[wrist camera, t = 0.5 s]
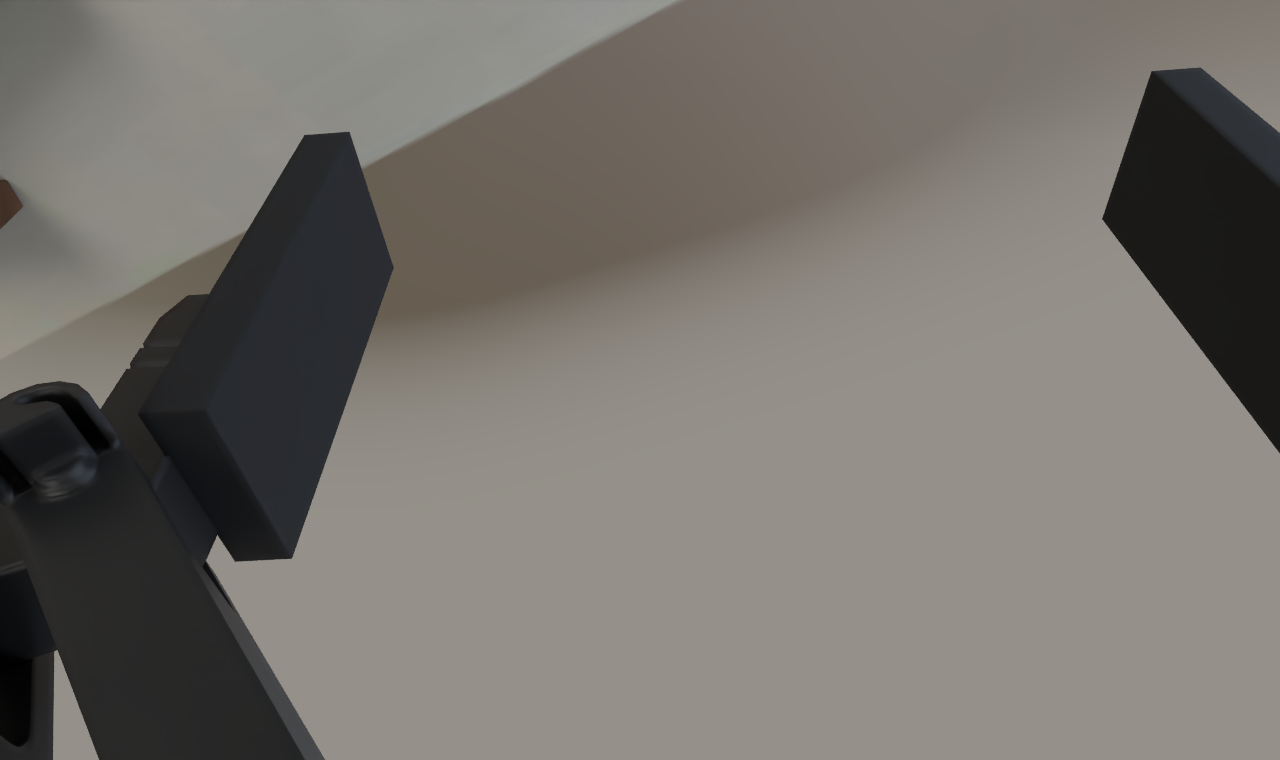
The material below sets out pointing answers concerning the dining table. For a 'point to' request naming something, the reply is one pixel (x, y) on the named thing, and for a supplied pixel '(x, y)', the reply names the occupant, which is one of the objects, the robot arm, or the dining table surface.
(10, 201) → the bar
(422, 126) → the dining table surface
